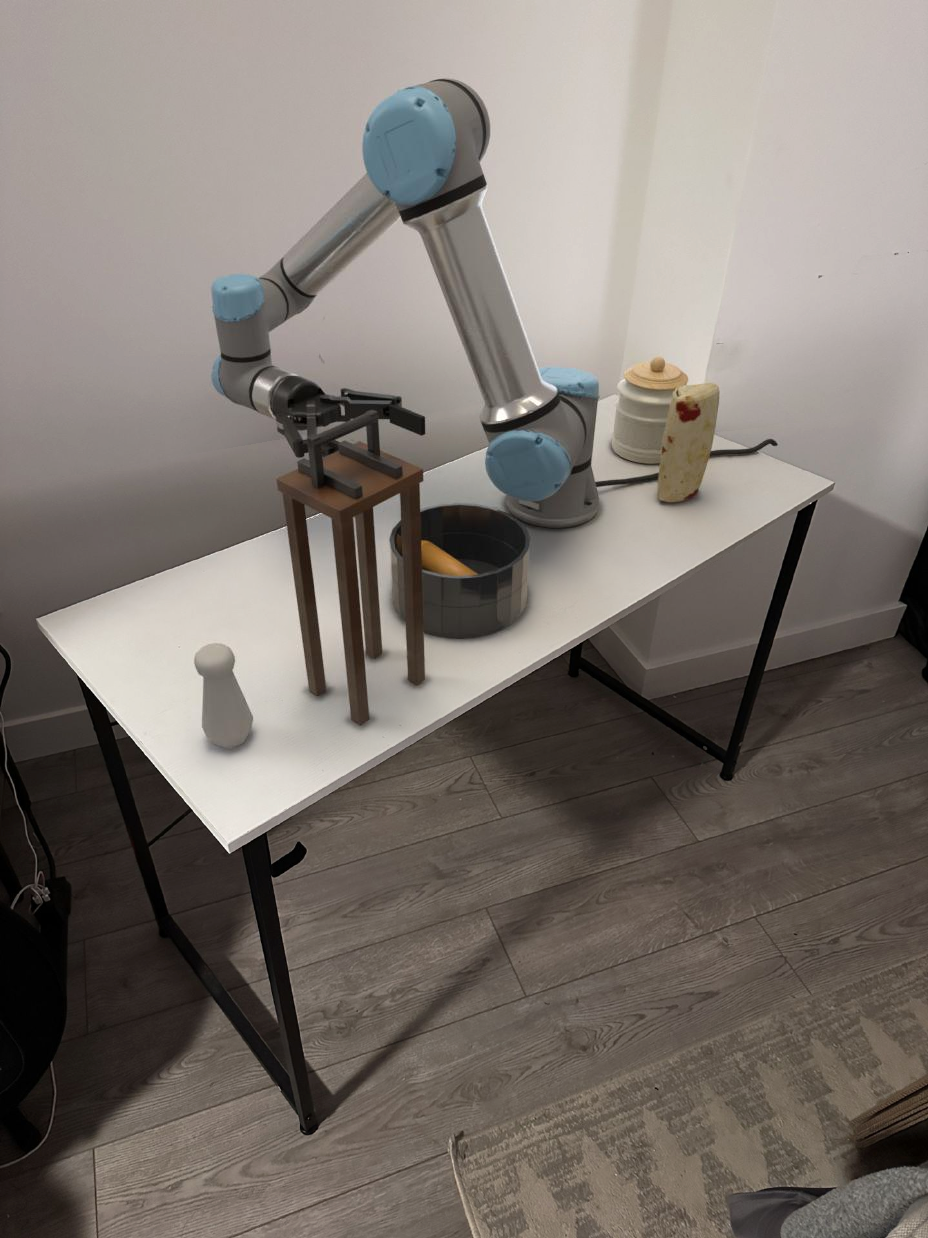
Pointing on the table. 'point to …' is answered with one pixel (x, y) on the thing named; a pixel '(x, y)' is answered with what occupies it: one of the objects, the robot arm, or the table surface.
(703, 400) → the food model
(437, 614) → the pot
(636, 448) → the jar
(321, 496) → the shelf stand
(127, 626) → the table surface
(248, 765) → the table surface
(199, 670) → the salt shaker
